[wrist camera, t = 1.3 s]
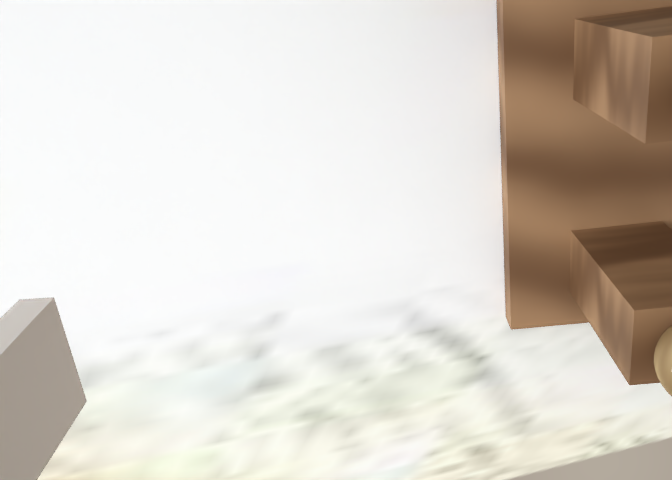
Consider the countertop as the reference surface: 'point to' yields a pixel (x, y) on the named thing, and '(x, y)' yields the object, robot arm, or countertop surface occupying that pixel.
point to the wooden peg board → (589, 173)
